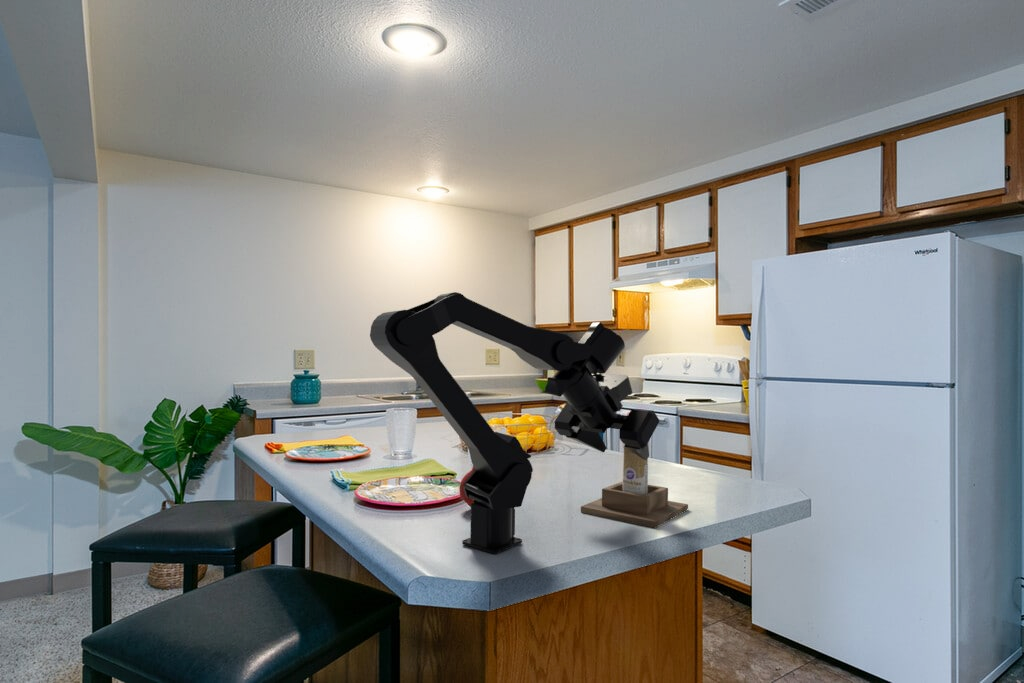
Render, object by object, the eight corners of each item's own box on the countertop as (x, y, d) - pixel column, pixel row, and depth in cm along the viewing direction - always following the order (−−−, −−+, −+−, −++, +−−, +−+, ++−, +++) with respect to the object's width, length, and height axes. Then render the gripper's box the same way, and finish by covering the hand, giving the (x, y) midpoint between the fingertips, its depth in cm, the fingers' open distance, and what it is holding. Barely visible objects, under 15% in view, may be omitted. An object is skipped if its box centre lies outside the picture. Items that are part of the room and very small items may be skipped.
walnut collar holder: (655, 528, 95) (655, 503, 95) (580, 512, 103) (581, 489, 103) (688, 509, 106) (688, 487, 106) (618, 496, 114) (618, 476, 114)
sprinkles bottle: (619, 512, 103) (620, 436, 104) (625, 506, 108) (626, 432, 108) (645, 515, 102) (646, 438, 102) (650, 509, 106) (651, 434, 106)
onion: (496, 506, 106) (496, 462, 106) (486, 515, 100) (486, 468, 100) (465, 504, 108) (466, 460, 108) (454, 512, 102) (455, 466, 102)
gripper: (652, 360, 92) (690, 424, 99) (565, 357, 106) (604, 413, 113) (621, 413, 87) (663, 477, 94) (534, 403, 101) (576, 459, 108)
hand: (625, 453), depth 103 cm, fingers open, 9 cm apart
